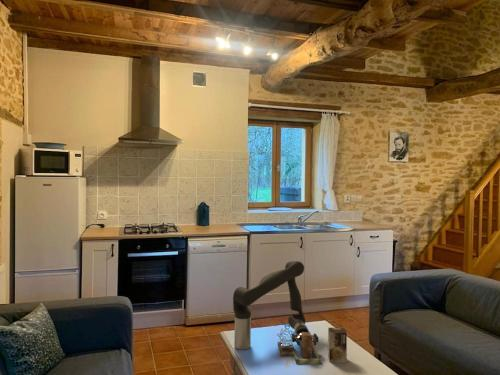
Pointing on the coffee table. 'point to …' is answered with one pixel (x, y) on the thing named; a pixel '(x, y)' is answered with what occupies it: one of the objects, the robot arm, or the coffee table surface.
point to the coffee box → (337, 345)
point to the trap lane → (288, 352)
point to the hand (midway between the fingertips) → (307, 343)
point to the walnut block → (306, 345)
